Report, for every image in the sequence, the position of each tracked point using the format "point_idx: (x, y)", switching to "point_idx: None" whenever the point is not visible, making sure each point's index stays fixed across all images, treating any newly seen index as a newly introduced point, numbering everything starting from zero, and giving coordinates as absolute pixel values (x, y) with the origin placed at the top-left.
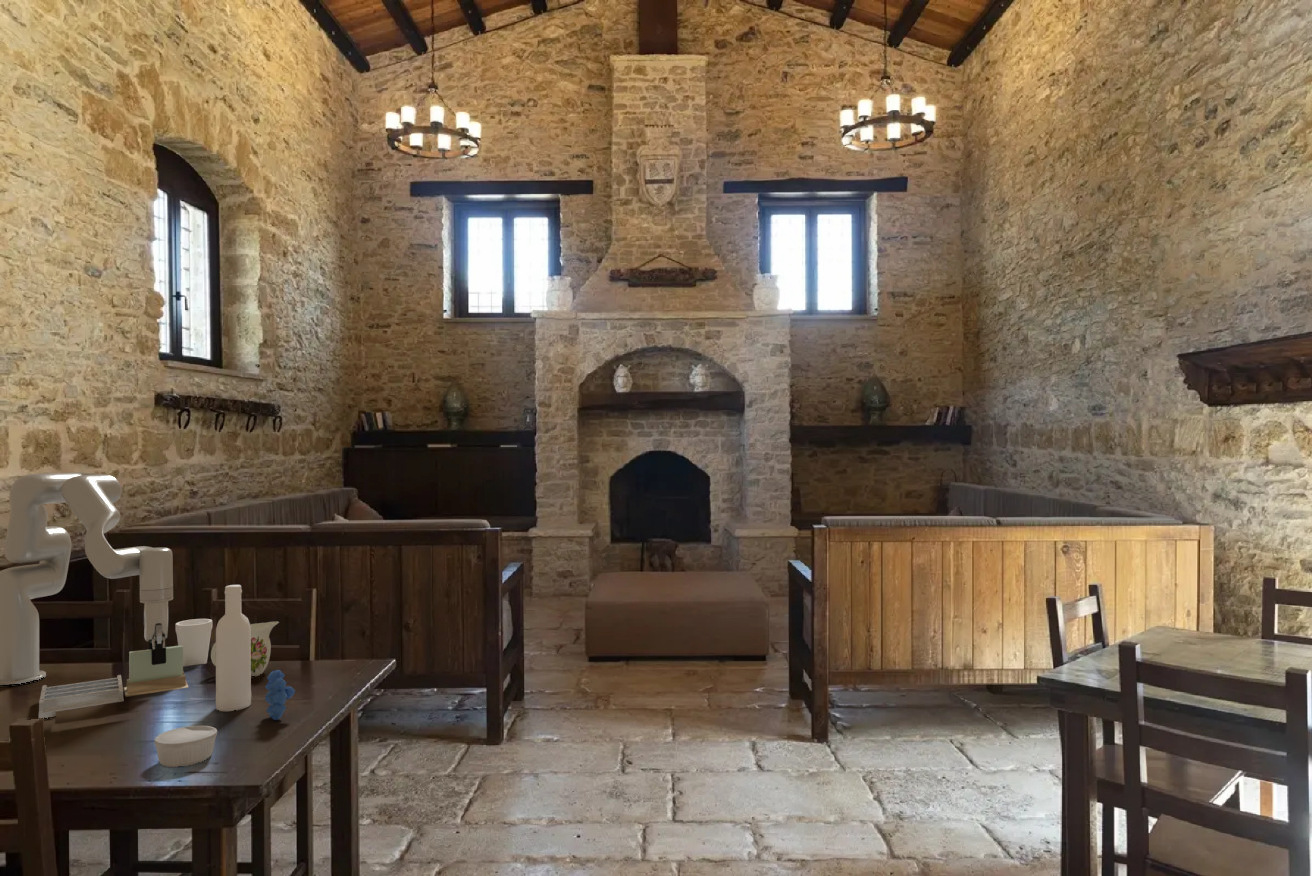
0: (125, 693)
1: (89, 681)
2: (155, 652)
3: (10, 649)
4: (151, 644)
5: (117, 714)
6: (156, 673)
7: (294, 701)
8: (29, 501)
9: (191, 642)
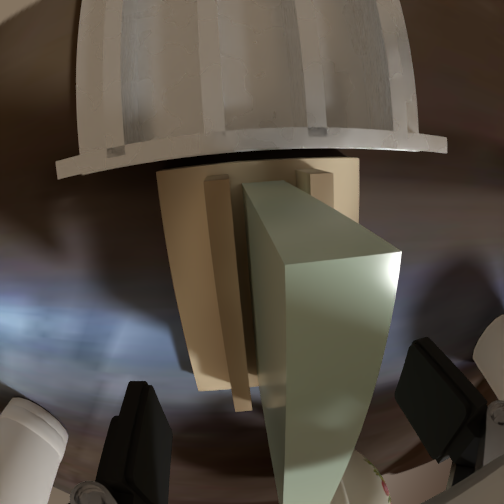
0: (225, 165)
1: (390, 13)
2: (100, 468)
3: None
4: (458, 411)
5: (15, 169)
6: (258, 338)
7: (64, 471)
8: None
9: None
